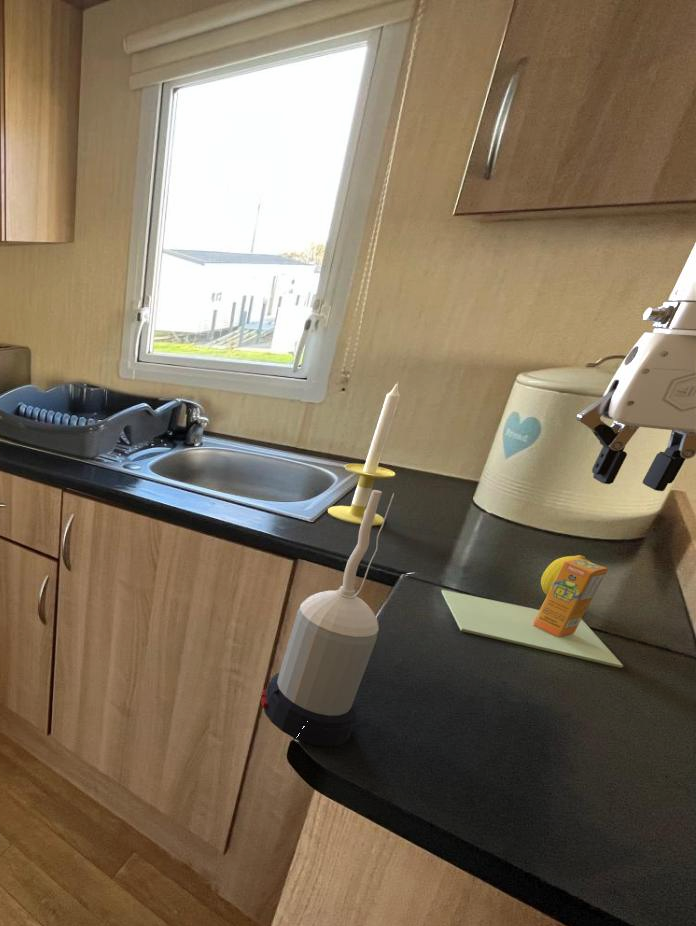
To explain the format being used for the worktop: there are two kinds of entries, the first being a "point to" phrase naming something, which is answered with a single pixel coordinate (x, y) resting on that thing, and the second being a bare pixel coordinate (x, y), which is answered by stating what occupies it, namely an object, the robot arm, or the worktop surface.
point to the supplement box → (569, 597)
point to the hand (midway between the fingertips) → (627, 482)
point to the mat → (524, 628)
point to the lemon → (555, 572)
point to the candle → (370, 467)
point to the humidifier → (326, 657)
